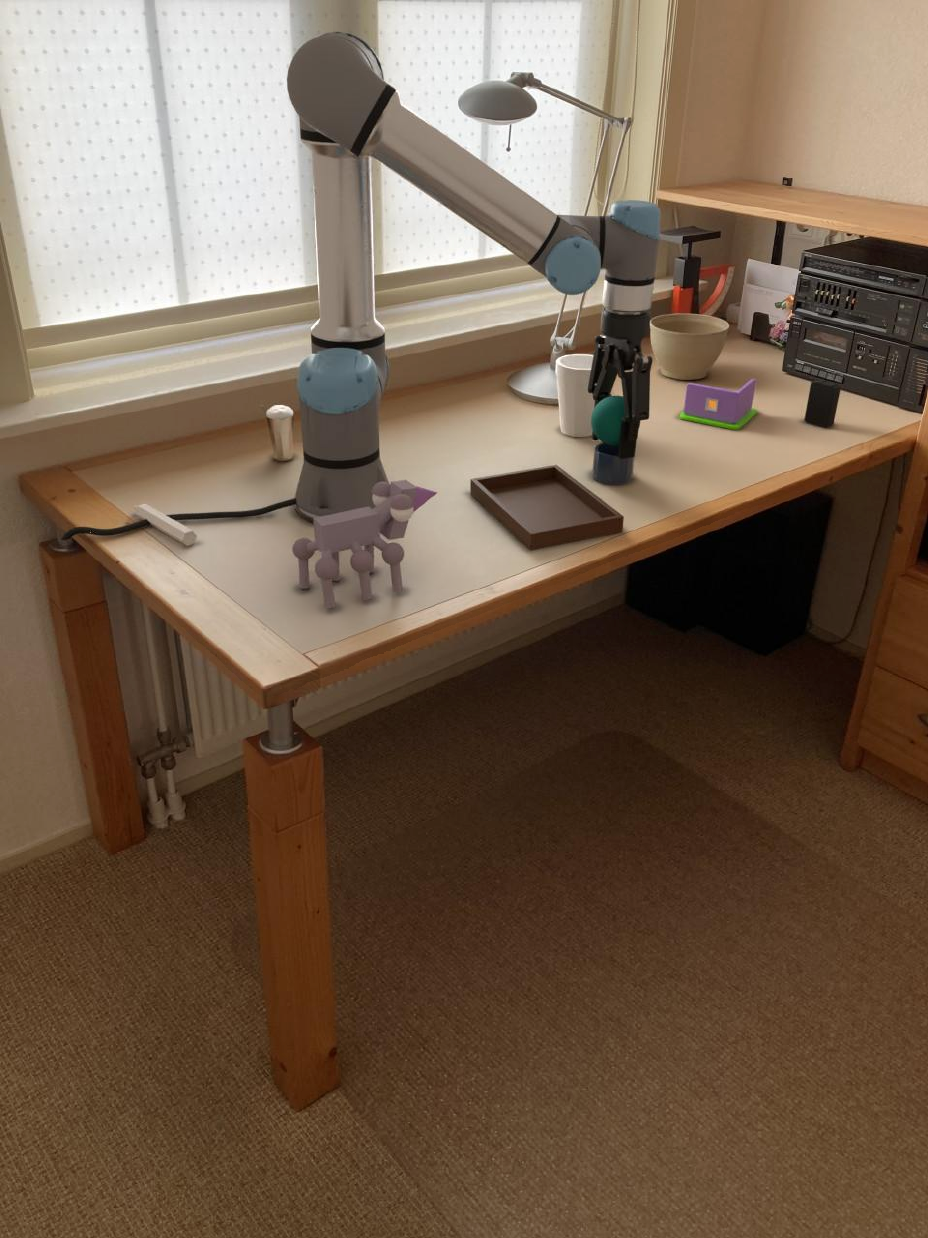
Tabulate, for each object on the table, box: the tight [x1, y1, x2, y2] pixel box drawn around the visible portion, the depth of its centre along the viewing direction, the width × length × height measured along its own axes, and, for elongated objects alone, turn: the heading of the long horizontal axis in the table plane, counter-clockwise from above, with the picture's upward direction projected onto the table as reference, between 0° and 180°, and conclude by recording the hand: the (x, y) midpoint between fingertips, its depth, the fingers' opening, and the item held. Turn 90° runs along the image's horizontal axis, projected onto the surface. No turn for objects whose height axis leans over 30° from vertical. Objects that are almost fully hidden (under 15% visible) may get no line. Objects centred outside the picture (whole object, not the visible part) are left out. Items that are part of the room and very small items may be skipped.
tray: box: [469, 464, 625, 551], centre depth 165 cm, size 16×22×3 cm
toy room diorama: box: [679, 378, 758, 431], centre depth 202 cm, size 12×12×7 cm
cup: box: [592, 442, 635, 486], centre depth 176 cm, size 7×7×5 cm
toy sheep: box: [291, 479, 438, 609], centre depth 142 cm, size 20×11×14 cm, turn 119°
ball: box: [591, 395, 641, 446], centre depth 173 cm, size 8×8×8 cm
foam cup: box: [554, 353, 597, 438], centre depth 192 cm, size 10×9×13 cm
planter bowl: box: [649, 313, 730, 381], centre depth 222 cm, size 16×16×11 cm
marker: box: [133, 502, 198, 547], centre depth 159 cm, size 3×2×16 cm
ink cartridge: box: [803, 379, 842, 429], centre depth 198 cm, size 5×2×8 cm, turn 44°
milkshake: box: [260, 404, 294, 462], centre depth 181 cm, size 5×5×10 cm
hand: (612, 447), depth 175 cm, fingers closed on ball, 8 cm apart
